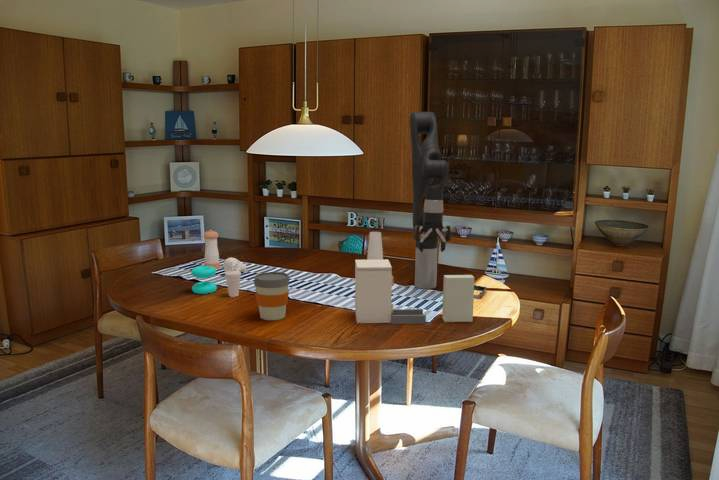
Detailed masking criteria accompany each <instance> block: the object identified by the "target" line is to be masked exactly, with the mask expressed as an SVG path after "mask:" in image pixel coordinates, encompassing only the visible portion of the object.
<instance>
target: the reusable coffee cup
mask: <svg viewBox="0 0 719 480" xmlns="http://www.w3.org/2000/svg"><path fill="white" fill-rule="evenodd" d="M253 285H254V286H255V293H254V295H255V299H256V304H257V305H258V311H259V316H260V319H262V320H265V321H277V320H279V321H280V320H282V319H284V318H285V317H286V309H287V304H288V303H289V296H290V295H289V294H290V290H289V286H290V277H289V274H288V273H285V272H283V271H282V272H279V271H268V272H267V271H266V272H260V273H258V274H255V276H254V281H253Z"/></svg>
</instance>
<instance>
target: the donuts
mask: <svg viewBox="0 0 719 480" xmlns="http://www.w3.org/2000/svg"><path fill="white" fill-rule="evenodd" d="M190 272H191V273H190V274H191V276H192V277H194V278H195V279H196V278H197V279H208V278H211V277H213V276H215V275H216V273H217V270H216V269H215V268H214V267H211V266H204V265H201V266H197V267H194V268H192V269H191V271H190ZM217 289H218V286H217V284H216V283H214V282H213V281H199V282H196V283H195V284H193V285H192V287H191V291H192V292H193V293H194V294H198V295H207V294H208V293H209V294H212V293H214V292H216V291H217Z"/></svg>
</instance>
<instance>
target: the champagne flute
mask: <svg viewBox="0 0 719 480" xmlns="http://www.w3.org/2000/svg"><path fill="white" fill-rule="evenodd" d="M368 237H369V238H368V247H367V256H366V260H384V250H383V242H382V241H383V240H382V232H381V231H369V236H368Z"/></svg>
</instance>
